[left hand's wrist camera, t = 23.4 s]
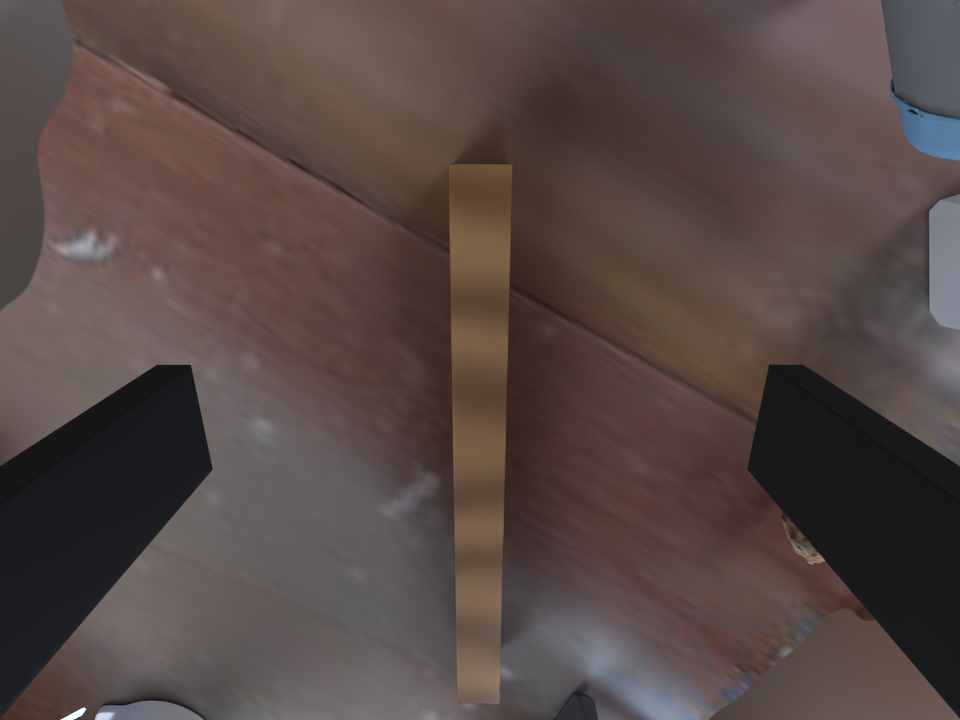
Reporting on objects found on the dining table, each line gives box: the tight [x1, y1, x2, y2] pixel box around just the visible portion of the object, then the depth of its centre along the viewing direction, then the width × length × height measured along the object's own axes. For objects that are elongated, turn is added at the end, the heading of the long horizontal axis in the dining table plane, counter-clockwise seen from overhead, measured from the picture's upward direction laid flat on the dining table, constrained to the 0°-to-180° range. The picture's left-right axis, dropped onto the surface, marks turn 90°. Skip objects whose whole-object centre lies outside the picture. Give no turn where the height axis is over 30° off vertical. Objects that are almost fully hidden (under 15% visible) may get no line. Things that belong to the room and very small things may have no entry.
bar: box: [448, 163, 513, 704], centre depth 56 cm, size 60×5×7 cm, turn 0°
